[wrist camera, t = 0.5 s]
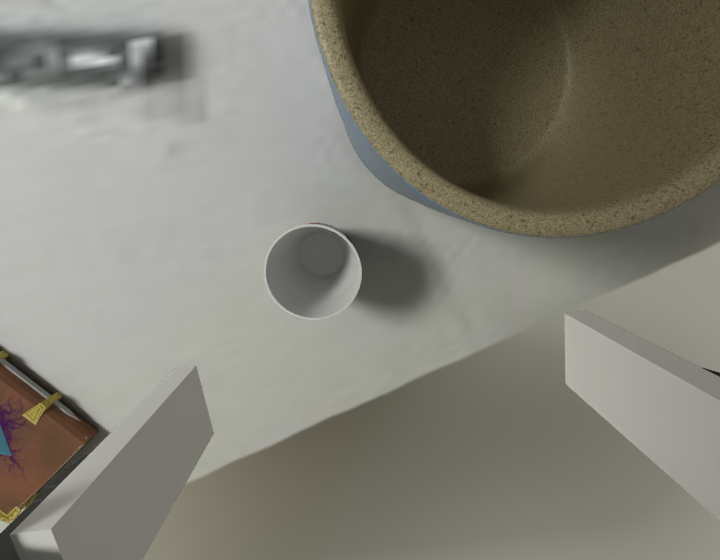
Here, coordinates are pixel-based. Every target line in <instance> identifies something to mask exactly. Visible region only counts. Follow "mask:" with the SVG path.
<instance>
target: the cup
mask: <svg viewBox="0 0 720 560" xmlns="http://www.w3.org/2000/svg"><path fill="white" fill-rule="evenodd" d="M263 274H264V281H265V285H266V288H267V290H268V292H269V294H270V296H271V297H272V299H273V300H274V302H275V303H276V304H277V305H278V306H279V307H280V308H281V309H283V310H284V311H286V312H287V313H289V314H291V315H293V316H295V317H298V318H301V319H307V320H321V319H326V318H329V317H332V316H334V315H337V314H338V313H340V312H342V311H343V310H344V309H345V308H347V307H348V306H349V305H350V304H351V302H352V301H353V300H354V298H355V297H356V295H357V293H358V290H359V288H360V284H361V279H362V267H361V262H360V258H359V256H358V253H357V251H356V249H355V247H354V246H353V244H352V242H351V241H350V239H349V238H348V237H347V236H346V235H345V234H344V233H343V232H342V231H340V230H339V229H337V228H335V227H333V226H331V225H328V224H323V223H309V224H304V225H299V226H296V227H293V228H291V229H289V230H287V231H285V232H284V233H282V234H281V235H280V236H279V237H278V238H277V239H276V240H275V241H274V242H273V243H272V245H271V246H270V248H269V250H268V252H267V254H266V257H265V261H264V267H263Z"/></svg>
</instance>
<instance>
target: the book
mask: <svg viewBox="0 0 720 560" xmlns="http://www.w3.org/2000/svg"><path fill="white" fill-rule="evenodd" d="M8 356H9V354H8V353H7V352H6V351H5V350H2V351H0V520H1V521H4V522H7V523H11V522H12V521H13V520H14V519H15V518H16V517H17V516H18V515H19V513H20V512H21V510H22V509H26V508H27V507H28V506H29V505H30V504H31V503H32V502H33V500H34V499H35V497H36V496H37V494H38V491H39V490H40V489H41V488H42V487H43V486H44V485H45V484H46V483H47V482H48V481H49V480H50V479H51V478H52V477H53V476H54V475H55V474H56V473H57V472H58V471H59V470H60V469H61V468H62V467H63V466H64V465H65V464H66V463H67V462H68V461H69V460H70V459H71V458H72V457H73V456H74V455H75V454H76V453H77V452H78V451H79V450H80V449H81V448H82V447H83V446H84V445H85V444H86V443H87V442H88V441H89V440H90V439H91V438H92V437H93V436H94V435H95V434H96V433H98V431H97V430H96V429H95V428H94V427H92V426H91V425H90V424H88V423H87V422H86V421H84V420H83V419H82V418H81V417H79V416H78V415H77V414H75V413H74V412H73V411H72V410H70V409H69V408H68V407H66V406H65V405H64V404H62V403H61V402H60V399H61V398H62V395H61V394H60V393H58V392H56V393H54V394H53V395H51V394H50V393H48V392H47V391H46V390H44V389H43V388H42V387H40V386H39V385H38V384H37V383H35V382H34V381H33V380H31V379H30V378H29V377H28V376H26V375H25V374H24V373H22V372H21V371H20V370H18V369H17V368H16V367H15V366H13V365H12V364H11V363H9V362H8V361H7V360H6V359H7V358H8Z"/></svg>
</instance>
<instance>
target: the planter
mask: <svg viewBox="0 0 720 560" xmlns="http://www.w3.org/2000/svg"><path fill="white" fill-rule="evenodd" d="M308 3H309V9H310V15H311V20H312V24H313V28H314V32H315V36H316V40H317V44H318V47H319V50H320V53H321V57H322V60H323V64H324V67H325V70H326V74H327V77H328V80H329V84H330V87H331V90H332V93H333V96H334V99H335V103H336V105H337V108H338V110H339V113H340V115H341V118H342V120H343V122H344V125H345V128H346V131H347V134H348V137H349V139H350V141H351V143H352V145H353V147H354V149H355V151H356V153H357V154H358V156H359V158H360V159H361V160H362V162H363V163H364V165H365V166H366V167H367V168H368V169H369V171H370V172H371V173H372V174H373V175H374V176H375V177H376V178H377V179H379V180H380V181H381V182H382V183H383V184H385V185H386V186H387V187H389V188H390V189H392V190H393V191H395V192H397V193H399V194H401V195H402V196H405V197H407V198H409V199H412V200H415V201H417V202H419V203H421V204H423V205H425V206H427V207H429V208H432V209H434V210H436V211H439V212H442V213H445V214H447V215H450V216H453V217H456V218H460V219H462V220H465V221H468V222H471V223H474V224H477V225H480V226H483V227H486V228H489V229H493V230H497V231H501V232H505V233H511V234H517V235H523V236H532V237H545V238H563V237H577V236H587V235H593V234H599V233H604V232H609V231H613V230H617V229H621V228H625V227H628V226H631V225H634V224H637V223H640V222H644V221H646V220H649V219H651V218H654V217H656V216H659V215H661V214H663V213H665V212H667V211H669V210H672V209H674V208H676V207H678V206H680V205H682V204H683V203H685V202H687V201H689V200H690V199H692V198H694V197H696V196H697V195H699V194H701V193H702V192H704V191H705V190H707V189H708V188H710V187H711V186H713V185H714V184H716V183H717V182H718V181H720V0H308Z"/></svg>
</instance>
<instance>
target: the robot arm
mask: <svg viewBox="0 0 720 560" xmlns="http://www.w3.org/2000/svg"><path fill="white" fill-rule="evenodd" d="M565 372H566V373H565V374H566V385H567V386H568V387H570V388H571V389H572V390H573V391H574V392H575V393H576V394H578V395H579V396H580V397H581V398H582V399H583V400H584V401H585V402H587V403H588V404H589V405H590V406H591V407H592V408H594V409H595V410H596V411H597V412H598V413H599V414H600V415H601V416H602V417H604V418H605V419H606V420H607V421H608V422H609V423H610V424H611V425H613V426H614V427H615V428H616V429H617V430H618V431H619V432H621V434H623V435H624V436H625V437H626V438H627V439H628V440H629V441H631V442H632V443H633V444H634V445H635V446H636V447H637V448H639V449H640V450H641V451H642V452H643V453H644V454H645V455H646V456H647V457H649V458H650V459H651V460H652V461H653V462H654V463H655V464H656V465H658V466H659V467H660V468H661V469H662V470H663V471H664V472H666V473H667V474H668V475H669V476H670V477H671V478H672V479H674V480H675V481H676V482H677V483H678V484H679V485H680V486H681V487H682V488H684V489H685V490H686V491H687V492H688V493H689V494H690V495H691V496H693V497H694V498H695V499H696V500H697V501H698V502H699V503H700V504H702V505H703V506H704V507H705V508H706V509H707V510H708V511H710V512H711V513H712V514H713V515H714V516H715V517H716V518H717V519H718V520H720V373H718V372H715V371H712V370H708V369H705V368H701V367H698V366H697V365H695V364H693V363H691V362H689V361H687V360H685V359H683V358H681V357H679V356H677V355H674V354H673V353H671V352H669V351H667V350H665V349H663V348H661V347H659V346H657V345H655V344H653V343H651V342H649V341H647V340H645V339H643V338H641V337H639V336H636V335H635V334H633V333H630V332H629V331H627V330H625V329H623V328H621V327H619V326H617V325H615V324H613V323H611V322H608V321H607V320H605V319H603V318H601V317H598V316H597V315H595V314H593V313H590V312H589V311H587V310H586V311H578V312H571V313H565ZM213 434H214V432H213V428H212V425H211V421H210V417H209V413H208V409H207V405H206V402H205V398H204V394H203V390H202V386H201V382H200V379H199V375H198V371H197V367H196V366H189V367H181V368H175V369H174V370H173V371H172V372H171V373H170V374H169V375H168V376H167V377H166V378H165V379H164V380H163V381H162V382H161V383H160V384H159V385H158V386H157V387H156V388H155V389H154V390H153V391H152V392H151V393H150V394H149V395H148V396H147V397H146V398H145V399H144V400H143V401H142V402H141V403H140V404H139V405H138V406H137V407H136V408H135V409H134V410H133V411H132V412H131V413H130V414H129V415H128V416H127V417H126V418H125V419H124V420H123V421H122V422H121V423H120V424H119V425H118V426H117V427H116V428H115V429H114V430H113V431H112V432H111V433H110V434H109V435H108V436H107V437H106V438H105V439H104V440H103V441H102V442H101V443H100V444H99V445H98V446H97V447H96V448H95V449H94V450H93V451H92V452H91V453H90V454H89V455H87V456H85V457H84V458H82V459H81V460H79V461H78V462H76V463H75V464H73V465H72V466H70V467H69V468H68V469H66V470H65V471H64V472H63V473H62V474H61V475H60V476H59V477H58V478H57V479H56V480H55V481H54V482H53V483H52V484H51V485H50V486H49V489H46V490H44V491H43V492H42V493H41V494H40V495H39V496H38V497H37V498H36V499H35V503H31V504H30V505H29V506H28V507H27V508H26V509H25V510H24V511H23V512H22V513H21V514H20V515H19V516H18V517H17V518H16V519H15V520H14V521H13V522H12V523H11V524H10V525H9V526H8V527H7V528H6V529H5V530H4V531H3V532H1V533H0V560H143V558H144V556H145V554H146V553H147V551H148V549H149V547H150V545H151V544H152V542H153V540H154V538H155V536H156V535H157V533H158V531H159V530H160V528H161V526H162V524H163V522H164V521H165V519H166V517H167V515H168V514H169V512H170V510H171V508H172V506H173V505H174V503H175V501H176V499H177V498H178V496H179V494H180V492H181V490H182V489H183V487H184V485H185V483H186V482H187V480H188V478H189V476H190V475H191V473H192V471H193V469H194V467H195V466H196V464H197V462H198V460H199V459H200V457H201V455H202V453H203V452H204V450H205V448H206V446H207V444H208V443H209V441H210V439H211V437H212V436H213Z"/></svg>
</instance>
